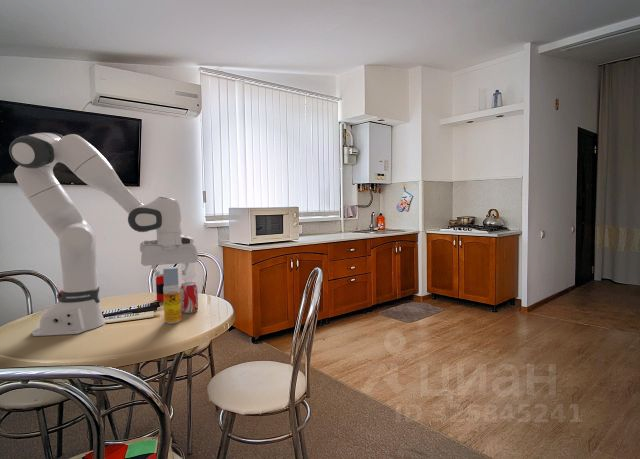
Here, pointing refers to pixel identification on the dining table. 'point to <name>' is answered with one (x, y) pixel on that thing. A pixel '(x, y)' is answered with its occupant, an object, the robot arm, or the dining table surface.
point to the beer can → (172, 303)
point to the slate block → (170, 276)
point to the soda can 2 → (189, 297)
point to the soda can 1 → (160, 288)
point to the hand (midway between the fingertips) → (171, 275)
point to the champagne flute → (188, 272)
